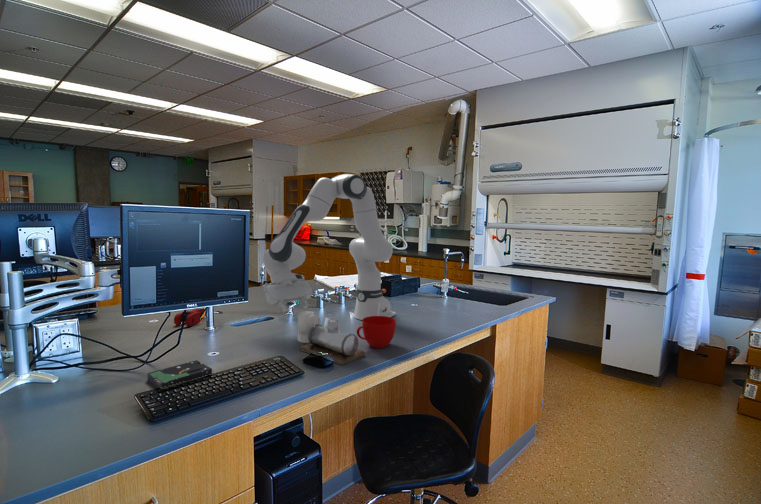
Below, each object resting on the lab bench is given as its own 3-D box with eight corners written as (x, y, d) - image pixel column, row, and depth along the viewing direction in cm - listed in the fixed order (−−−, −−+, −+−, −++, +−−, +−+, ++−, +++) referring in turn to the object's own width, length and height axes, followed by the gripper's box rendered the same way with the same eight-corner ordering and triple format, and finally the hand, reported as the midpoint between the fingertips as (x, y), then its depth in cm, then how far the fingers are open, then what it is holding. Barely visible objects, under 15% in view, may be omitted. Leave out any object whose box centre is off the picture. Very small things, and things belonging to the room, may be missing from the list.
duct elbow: (306, 336, 162) (307, 310, 161) (321, 341, 156) (321, 314, 155) (294, 340, 157) (295, 313, 156) (309, 345, 151) (309, 317, 150)
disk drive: (196, 368, 128) (146, 381, 117) (196, 359, 128) (146, 372, 117) (212, 377, 122) (161, 392, 110) (212, 368, 122) (161, 382, 110)
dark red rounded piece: (189, 327, 170) (189, 316, 170) (174, 326, 171) (173, 315, 171) (210, 318, 186) (210, 307, 185) (196, 317, 187) (196, 306, 186)
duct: (324, 342, 155) (325, 312, 154) (364, 355, 142) (365, 323, 141) (300, 350, 146) (300, 318, 144) (341, 365, 133) (342, 330, 131)
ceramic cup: (346, 345, 152) (347, 320, 151) (380, 338, 163) (381, 314, 162) (367, 355, 142) (368, 328, 141) (402, 346, 153) (402, 321, 152)
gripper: (263, 279, 157) (276, 308, 151) (306, 275, 172) (319, 301, 166) (258, 289, 161) (270, 317, 155) (300, 283, 175) (313, 309, 170)
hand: (296, 308), depth 161 cm, fingers open, 8 cm apart
